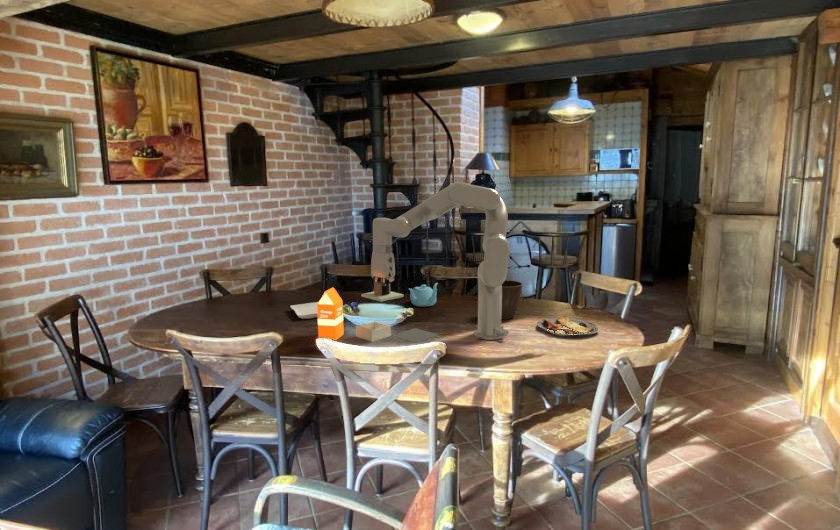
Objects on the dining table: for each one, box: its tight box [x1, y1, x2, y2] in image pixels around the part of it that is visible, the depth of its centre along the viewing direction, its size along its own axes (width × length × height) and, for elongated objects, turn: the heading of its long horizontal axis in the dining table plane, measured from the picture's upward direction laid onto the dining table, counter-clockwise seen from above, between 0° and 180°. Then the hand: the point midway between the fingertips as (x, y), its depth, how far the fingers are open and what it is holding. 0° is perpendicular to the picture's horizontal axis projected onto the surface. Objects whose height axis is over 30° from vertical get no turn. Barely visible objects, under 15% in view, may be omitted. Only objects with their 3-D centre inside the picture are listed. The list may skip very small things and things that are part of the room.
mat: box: [391, 327, 439, 343], centre depth 214 cm, size 14×14×1 cm
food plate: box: [536, 315, 600, 337], centre depth 221 cm, size 25×23×4 cm
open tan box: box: [355, 320, 392, 343], centre depth 212 cm, size 10×10×5 cm
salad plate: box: [290, 301, 319, 320], centre depth 251 cm, size 21×21×3 cm
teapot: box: [408, 282, 439, 308], centre depth 267 cm, size 15×15×10 cm
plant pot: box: [501, 279, 523, 320], centre depth 240 cm, size 15×15×16 cm
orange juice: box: [317, 287, 345, 341], centre depth 213 cm, size 8×9×20 cm
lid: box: [361, 280, 405, 302], centre depth 210 cm, size 12×12×6 cm
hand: (382, 293), depth 210 cm, fingers closed on lid, 3 cm apart
